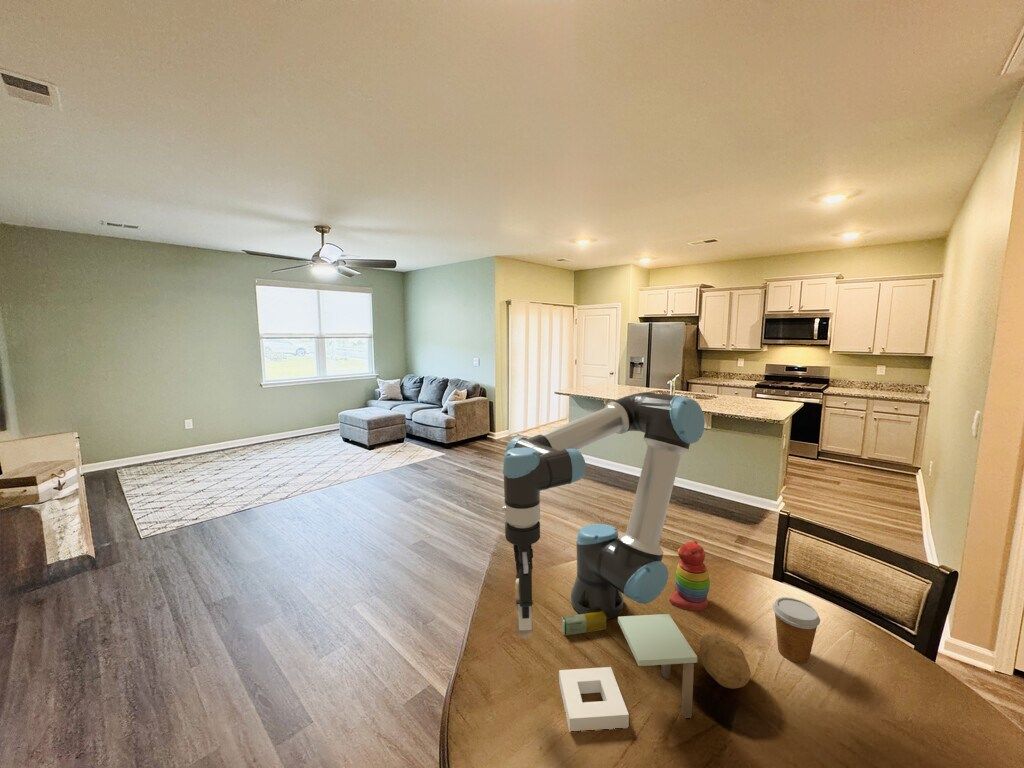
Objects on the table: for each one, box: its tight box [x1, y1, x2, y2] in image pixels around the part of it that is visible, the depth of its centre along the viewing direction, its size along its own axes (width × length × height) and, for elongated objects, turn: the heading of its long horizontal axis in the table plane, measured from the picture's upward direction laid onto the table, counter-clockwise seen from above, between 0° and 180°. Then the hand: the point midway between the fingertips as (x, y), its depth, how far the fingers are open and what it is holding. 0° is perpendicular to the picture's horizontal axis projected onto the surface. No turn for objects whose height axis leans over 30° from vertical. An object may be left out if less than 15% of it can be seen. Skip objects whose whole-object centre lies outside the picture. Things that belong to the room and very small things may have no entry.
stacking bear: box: [668, 539, 711, 611], centre depth 121 cm, size 11×10×18 cm
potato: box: [699, 629, 752, 689], centre depth 94 cm, size 10×14×8 cm
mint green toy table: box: [617, 613, 698, 719], centre depth 89 cm, size 13×12×14 cm
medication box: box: [561, 611, 608, 636], centre depth 110 cm, size 12×3×4 cm, turn 101°
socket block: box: [558, 666, 630, 733], centre depth 88 cm, size 12×12×3 cm
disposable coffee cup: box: [772, 596, 821, 664], centre depth 100 cm, size 10×10×12 cm
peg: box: [514, 578, 533, 640], centre depth 90 cm, size 4×4×12 cm
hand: (524, 621), depth 90 cm, fingers closed on peg, 3 cm apart
